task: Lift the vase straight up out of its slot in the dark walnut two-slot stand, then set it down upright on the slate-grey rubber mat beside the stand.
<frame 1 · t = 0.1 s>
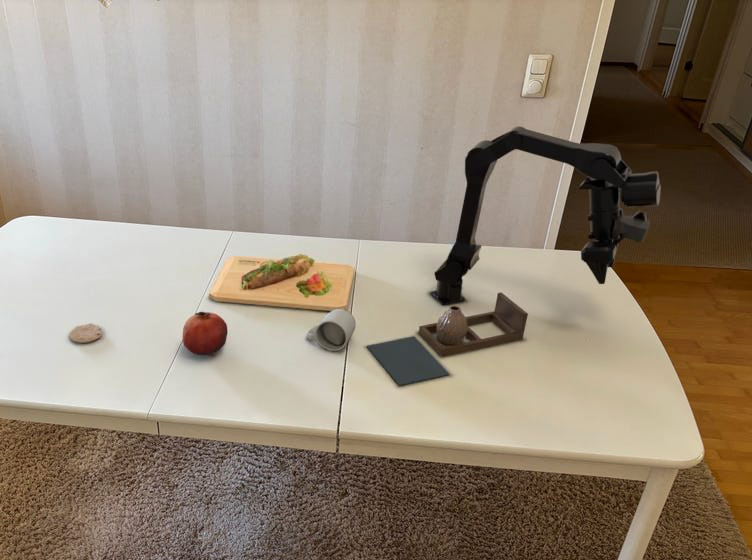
hand: (606, 275, 161), 15 cm above the table, tool pointing down, fingers open, 9 cm apart
cup stand: (468, 336, 169), on the table
ceramic mug: (330, 342, 168), on the table
cutting board: (283, 286, 191), on the table
flatbread: (86, 335, 171), on the table
mat: (406, 360, 161), on the table
vase: (449, 341, 168), resting in cup stand
fruit: (206, 351, 166), on the table
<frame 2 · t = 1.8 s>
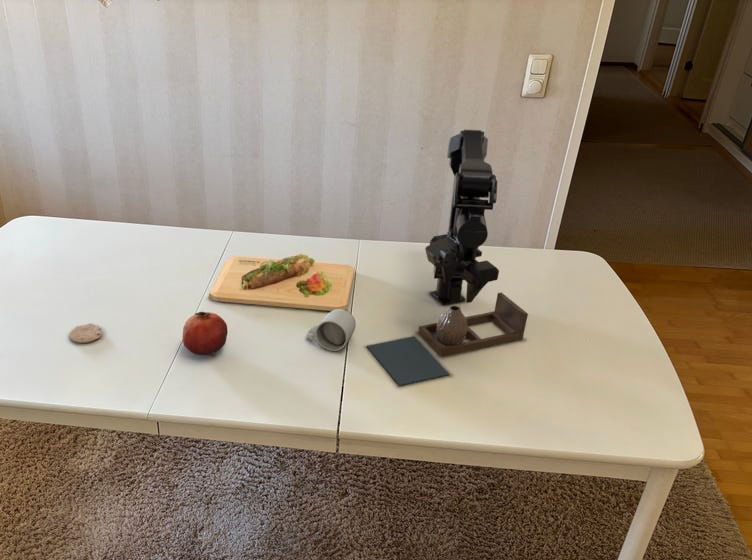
hand: (457, 292, 161), 13 cm above the table, tool pointing down, fingers open, 9 cm apart
nothing on the table moved.
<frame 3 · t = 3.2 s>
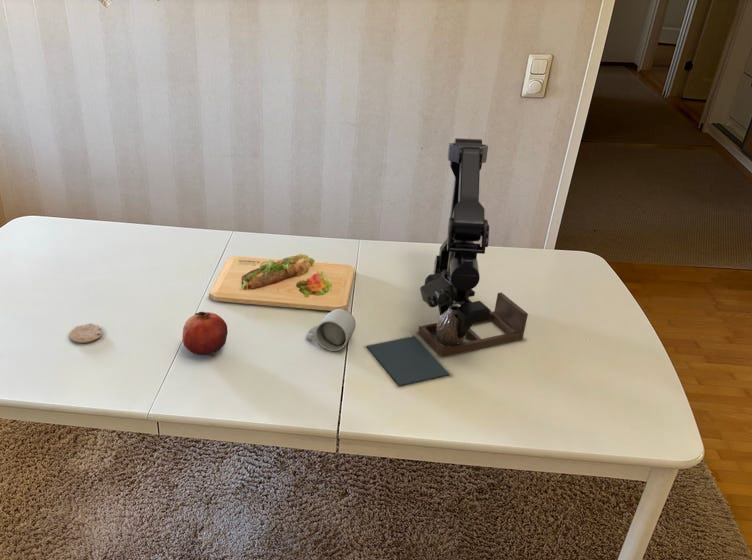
hand: (451, 329, 166), 3 cm above the table, tool pointing down, fingers closed on vase, 7 cm apart
vase: (449, 341, 168), resting in cup stand, touching gripper
everything else where it was.
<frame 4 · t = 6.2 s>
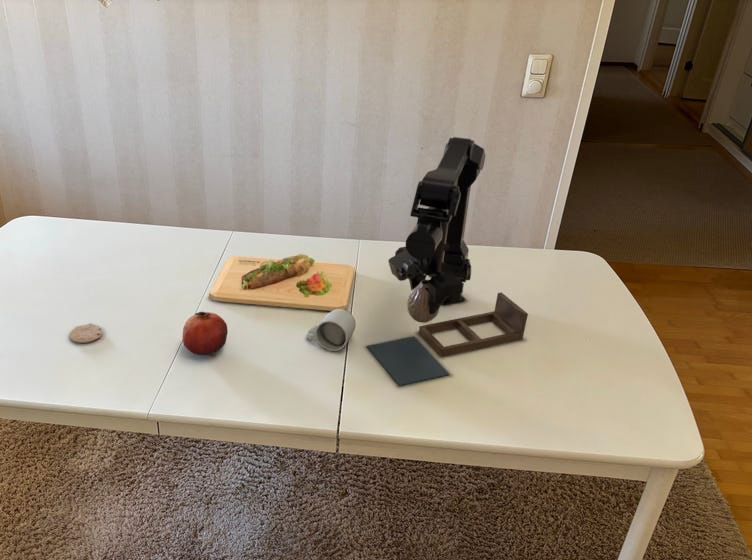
hand: (423, 305, 155), 13 cm above the table, tool pointing down, fingers closed on vase, 7 cm apart
vase: (422, 318, 157), point 10 cm above the table, touching gripper
everything else where it was.
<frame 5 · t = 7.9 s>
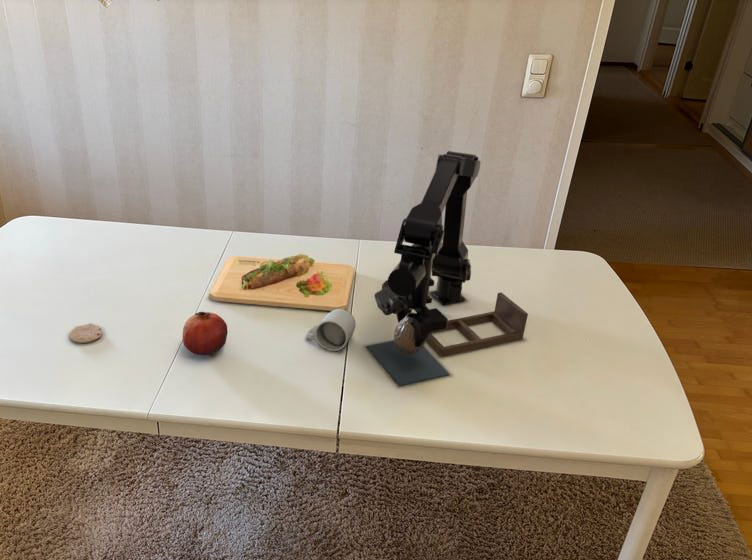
hand: (409, 337, 158), 6 cm above the table, tool pointing down, fingers closed on vase, 7 cm apart
vase: (408, 350, 160), point 3 cm above the table, touching gripper
everything else where it was.
when the fingers open (3 cm above the table, at t = 9.2 s): vase stays where it is, resting on mat.
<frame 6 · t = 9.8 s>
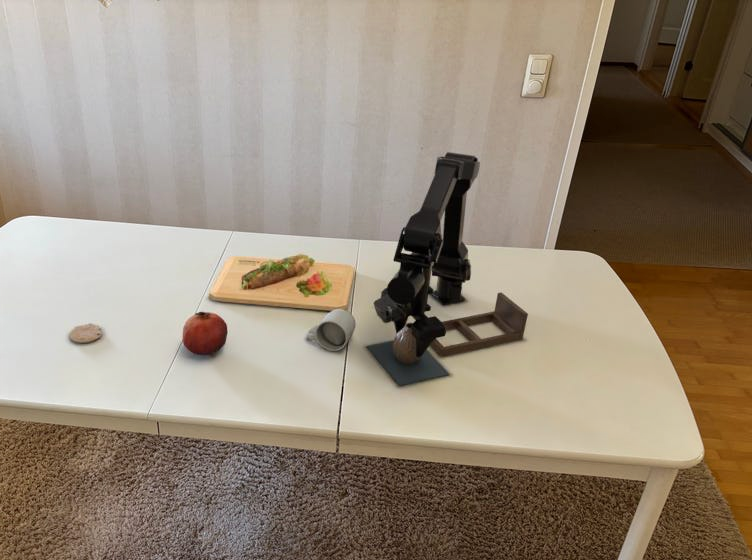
hand: (408, 345, 159), 4 cm above the table, tool pointing down, fingers open, 9 cm apart
vase: (407, 359, 161), resting on mat
everything else where it was.
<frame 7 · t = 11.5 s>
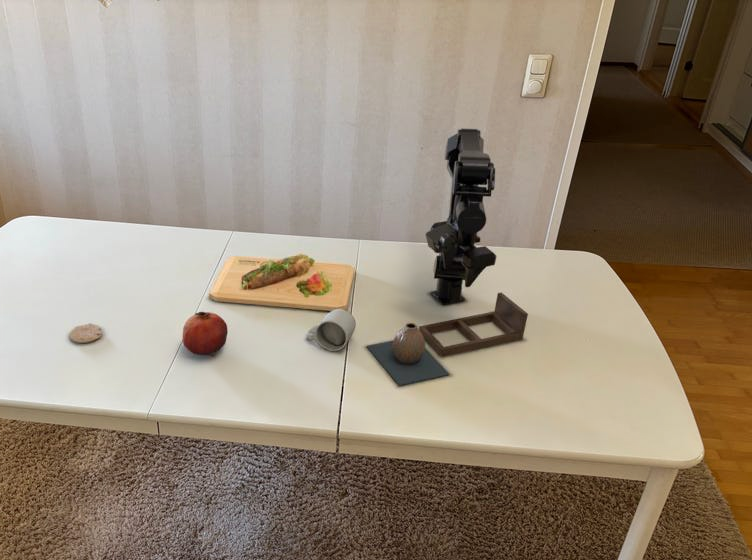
hand: (456, 277, 166), 13 cm above the table, tool pointing down, fingers open, 9 cm apart
nothing on the table moved.
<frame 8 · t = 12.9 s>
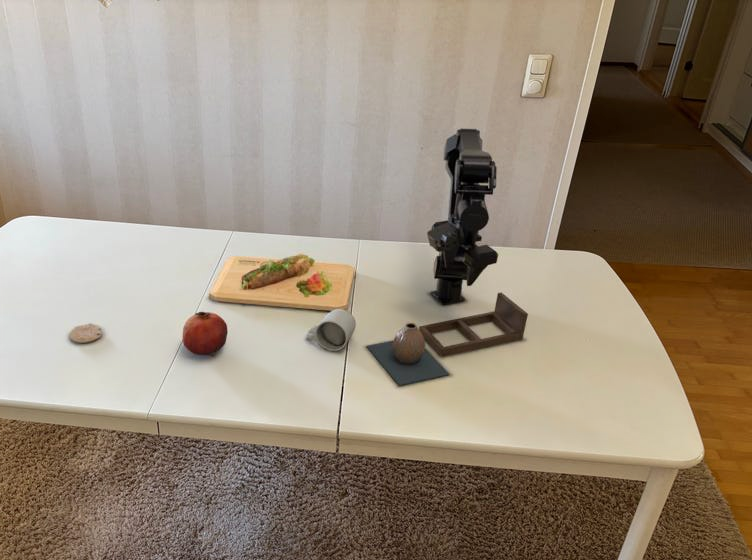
hand: (458, 276, 166), 13 cm above the table, tool pointing down, fingers open, 9 cm apart
nothing on the table moved.
at the end: vase inside the target area on the mat (0.1 cm from its centre), point 0.2 cm above the mat's base; vase tilted 0°; vase touching mat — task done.
